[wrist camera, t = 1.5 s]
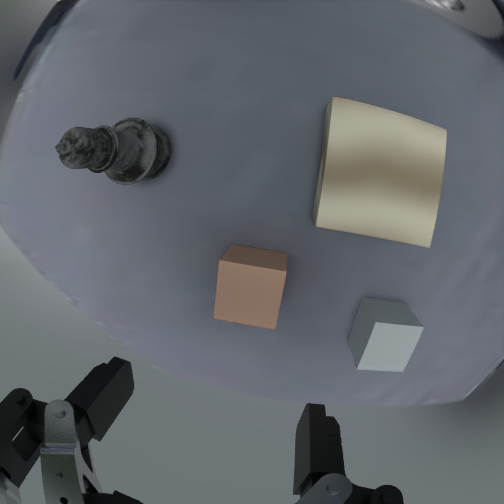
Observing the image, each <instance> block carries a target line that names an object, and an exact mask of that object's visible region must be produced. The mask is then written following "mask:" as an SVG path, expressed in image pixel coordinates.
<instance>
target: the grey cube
mask: <svg viewBox="0 0 504 504" xmlns="http://www.w3.org/2000/svg"><path fill="white" fill-rule="evenodd" d="M423 328H424V326H423V325H422V324H421V322H420V321H419V320H418V318H417V317H416V316H415V315H414V313H413V312H412V311H411V309H410V308H409V307H408V306H407V304H406V303H402V302H394V301H387V300H380V299H373V298H367V297H362V299H361V303H360V306H359V309H358V312H357V315H356V318H355V321H354V324H353V327H352V330H351V333H350V335H349V338H348V342H349V345H350V348H351V352H352V355H353V358H354V362H355V365H356V369H359V370H375V371H399V372H403V371H404V369H405V367H406V365H407V363H408V361H409V359H410V357H411V355H412V353H413V351H414V348H415V346H416V344H417V342H418V340H419V338H420V335H421V333H422V331H423Z"/></svg>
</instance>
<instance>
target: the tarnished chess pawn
mask: <svg viewBox="0 0 504 504" xmlns="http://www.w3.org/2000/svg"><path fill="white" fill-rule="evenodd" d="M55 148H56V150H57V152H58V153H59V158H60V160H61V162H62V163H63V164H64V166H66V167H68V168H71V169H82V168H88V169H89V170H90V171H92V172H95V173H101V172H105V173H106V175H107V176H108V177H109V178H110V179H111V180H112V181H114V182H116V183H117V184H122V185H129V184H134V183H136V182H138V181H140V180H141V179H142V180H147V179H152V178H154V177H156V176H158V175H159V174H160V173H161V172H162V171H163V170H164V169H165V167H166V166H167V164H168V161H169V159H170V153H171V148H170V142H169V139H168V137H167V136H166V134H165V133H164V132H163V131H162V130H161V129H159V128H156V127H154V126H150V125H149V124H147V123H146V122H145V121H144V120H141V119H138V118H127V119H123V120H121V121H119V122H118V123H116V124H115V125H114V126H113V127H112V128H111V127H109V126H105V125H101V126H98V127H96V128H94V129H91V128H84V127H75V128H72V129H70V130H68V131H67V132H66V133H65V134H64V135H63V137H62V138H61V140H60V142H59V143H58V144H57V145H56V147H55Z"/></svg>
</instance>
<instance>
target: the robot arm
mask: <svg viewBox="0 0 504 504" xmlns="http://www.w3.org/2000/svg"><path fill="white" fill-rule="evenodd" d="M133 390H134V380H133V374H132V367H131V363H130V362H129V361H126V360H124V359H121V358H118V357H113V358H112V359H111V360H110V361H109V363H108V364H105V363H102V364H100V365H98V366H96V367H94V368H93V369H92V371H91V372H90V373H89V374H88V375H87V376H86V377H85V378H84V380H83V381H81V382H80V384H79V385H78V386H77V387H76V388H75V389H74V390H73V391H72V392H71V393H70V394H69V395H68V397H67V398H66V399H65V400H53V401H51V402H50V403H45V402H42V401H38V400H35V399H33V397H32V395H31V393H30V392H29V391H28V390H26V389H23V388H18V389H14V390H13V391H11V392H10V393H9V394H8V396H7V397H6V398H5V399H4V400H3V401H2V402H1V403H0V504H20V503H21V498H20V492H19V490H18V489H19V487H20V485H21V484H22V482H23V481H24V479H25V477H26V476H27V474H28V473H29V471H30V470H31V468H32V467H33V465H34V464H35V462H36V461H37V459H38V458H39V456H40V458H41V471H42V481H43V488H44V495H45V501H46V504H143V503H141V502H140V501H139V500H136V499H133V498H131V497H129V496H127V495H124V494H122V493H120V492H118V491H116V490H115V491H114V493H113V494H108V493H103V491H102V488H101V486H100V483H99V481H98V479H97V476H96V472H95V468H94V463H93V459H92V453H91V448H90V443H89V442H90V440H91V439H92V438H94V439H96V440H98V441H101V440H102V438H103V437H104V435H105V434H106V432H107V431H108V429H109V428H110V426H111V425H112V423H113V422H114V420H115V419H116V417H117V416H118V414H119V413H120V412H121V410H122V409H123V407H124V406H125V404H126V403H127V401H128V400H129V398H130V397H131V395H132V393H133ZM22 427H23V429H22V430H21V431H20V433H19V434H18V435H17V437H16V438H15V439H14V440H13V438H14V437H15V436H16V434H17V433H18V432H19V430H20V429H21V428H22ZM340 435H341V434H340V426H339V424H338V423H337V421H336V419H335V418H334V417H331V416H326V412H325V406H324V405H322V404H311V403H307V404H306V406H305V409H304V411H303V413H302V416H301V418H300V420H299V423H298V425H297V430H296V441H295V468H294V487H293V494H295V495H300V499H299V500H298V501H297V502H296V503H295V504H404V503H403V496H402V493H401V491H400V490H399V489H398V488H397V487H395V486H392V485H383V486H380V487H378V488H377V489H369V488H365V487H360V486H357V485H354V484H353V483H351V481H350V480H349V479H348V478H347V477H346V475H345V470H344V461H343V451H342V445H341V443H342V442H341V437H340ZM12 440H13V442H12Z"/></svg>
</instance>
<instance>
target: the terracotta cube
mask: <svg viewBox="0 0 504 504" xmlns="http://www.w3.org/2000/svg"><path fill="white" fill-rule="evenodd" d="M286 273H287V253H283V252H277V251H271V250H266V249H260V248H254V247H248V246H242V245H236V244H232V245H231V246H230V247H229V249H228V250H227V251H226V252H225V254H224V255H223V256H222V257H221V259H220V260H219V268H218V278H217V288H216V298H215V309H214V318H215V319H220V320H224V321H229V322H235V323H240V324H245V325H250V326H256V327H262V328H267V329H273V330H275V328H276V323H277V318H278V313H279V309H280V304H281V299H282V294H283V289H284V284H285V278H286Z"/></svg>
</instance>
